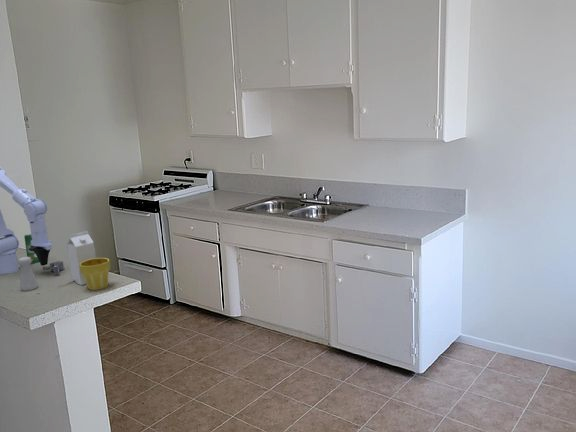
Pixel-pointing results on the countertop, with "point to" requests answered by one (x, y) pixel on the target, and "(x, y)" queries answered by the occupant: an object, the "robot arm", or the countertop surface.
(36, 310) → the countertop surface
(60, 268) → the knob
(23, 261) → the salt shaker
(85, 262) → the plant pot
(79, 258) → the milk carton
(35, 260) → the coffee box
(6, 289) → the countertop surface
